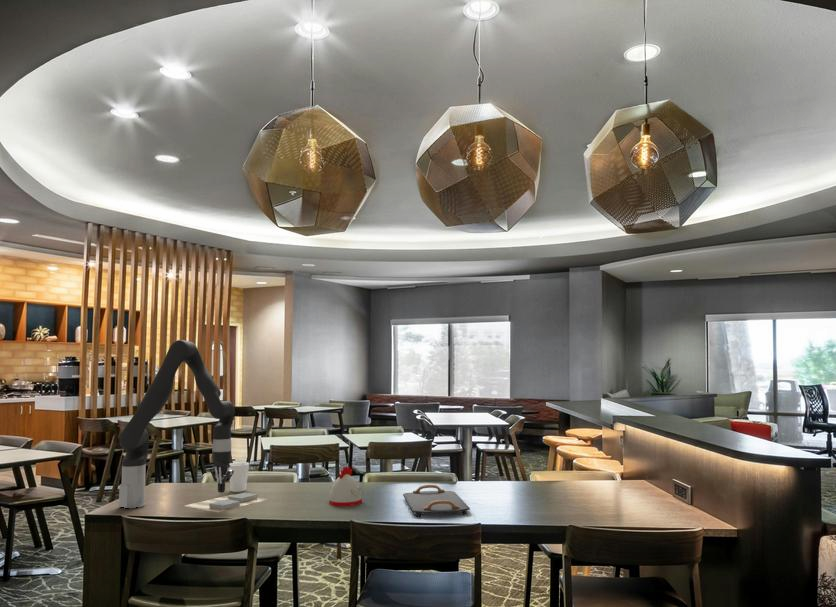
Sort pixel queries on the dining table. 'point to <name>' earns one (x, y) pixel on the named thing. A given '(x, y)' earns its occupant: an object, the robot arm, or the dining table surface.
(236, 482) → the foam cup
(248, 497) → the far tile
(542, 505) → the dining table surface
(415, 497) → the serving board
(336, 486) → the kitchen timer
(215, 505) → the near tile
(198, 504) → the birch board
